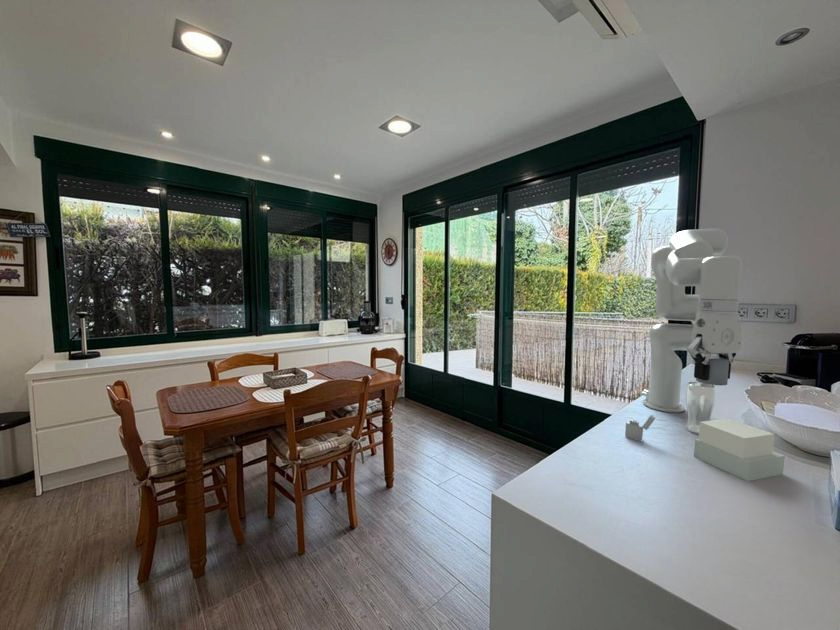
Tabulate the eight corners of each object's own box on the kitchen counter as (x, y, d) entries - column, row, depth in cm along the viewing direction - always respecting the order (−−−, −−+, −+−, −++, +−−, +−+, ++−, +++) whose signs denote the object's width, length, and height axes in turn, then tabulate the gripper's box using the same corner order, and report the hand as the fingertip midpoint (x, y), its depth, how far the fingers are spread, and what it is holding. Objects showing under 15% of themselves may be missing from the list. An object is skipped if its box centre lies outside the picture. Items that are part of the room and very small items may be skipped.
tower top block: (698, 440, 90) (699, 421, 89) (726, 436, 92) (728, 418, 92) (742, 458, 80) (744, 438, 80) (772, 453, 83) (774, 434, 82)
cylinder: (690, 379, 88) (691, 356, 87) (707, 378, 89) (708, 355, 89) (716, 386, 82) (717, 361, 81) (733, 384, 83) (735, 360, 83)
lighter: (624, 436, 102) (626, 410, 101) (626, 435, 103) (628, 409, 103) (653, 444, 97) (654, 417, 96) (654, 442, 98) (656, 416, 98)
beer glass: (701, 427, 110) (705, 381, 108) (718, 436, 103) (722, 388, 102) (678, 426, 110) (681, 381, 109) (693, 435, 103) (697, 387, 102)
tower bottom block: (693, 457, 91) (695, 439, 90) (726, 452, 94) (728, 434, 93) (747, 482, 79) (748, 462, 79) (782, 475, 82) (784, 455, 82)
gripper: (705, 308, 78) (699, 384, 80) (761, 307, 82) (755, 380, 84) (674, 306, 86) (669, 376, 87) (727, 305, 89) (721, 372, 91)
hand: (711, 377), depth 85 cm, fingers closed on cylinder, 6 cm apart
